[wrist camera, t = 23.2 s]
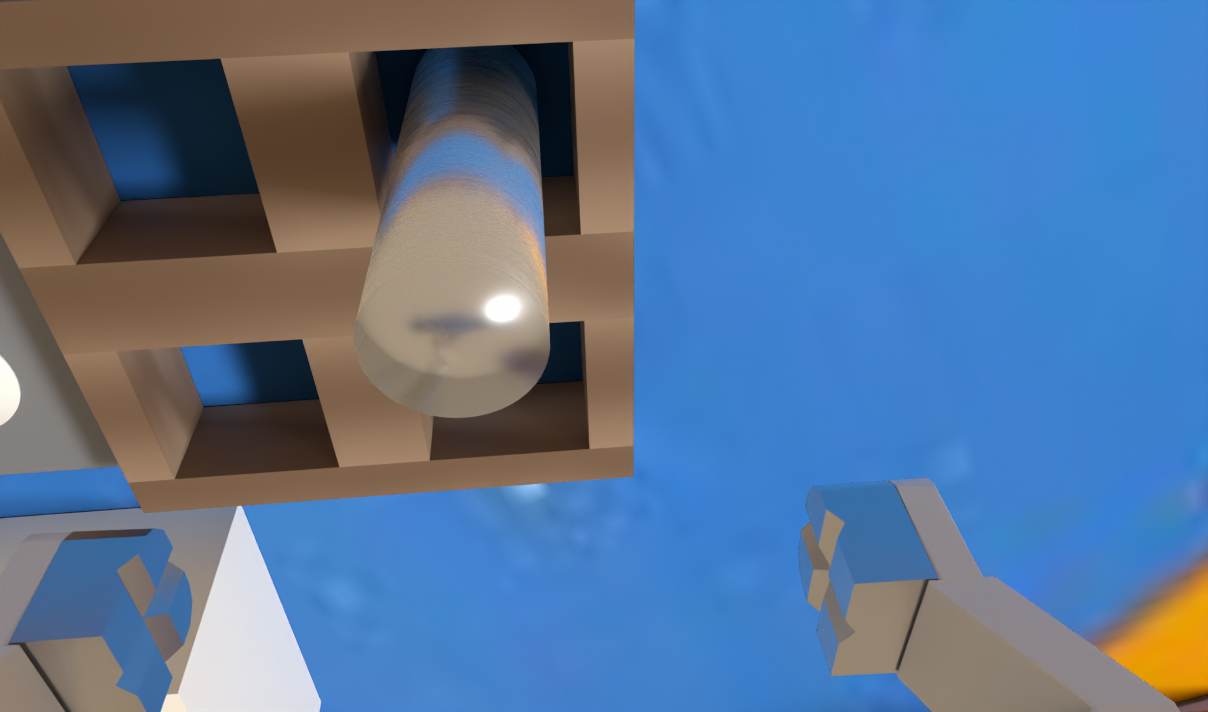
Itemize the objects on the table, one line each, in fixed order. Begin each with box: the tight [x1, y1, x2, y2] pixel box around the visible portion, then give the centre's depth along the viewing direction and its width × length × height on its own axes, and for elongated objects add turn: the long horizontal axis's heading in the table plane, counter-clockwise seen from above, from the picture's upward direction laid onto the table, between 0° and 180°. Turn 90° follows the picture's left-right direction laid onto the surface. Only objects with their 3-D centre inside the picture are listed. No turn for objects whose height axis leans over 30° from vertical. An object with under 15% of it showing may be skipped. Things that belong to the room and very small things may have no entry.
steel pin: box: [354, 45, 550, 418], centre depth 18 cm, size 3×3×10 cm
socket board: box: [0, 0, 635, 513], centre depth 22 cm, size 14×14×3 cm
